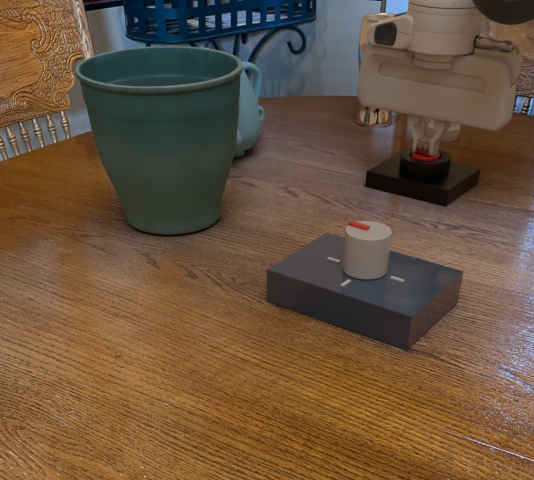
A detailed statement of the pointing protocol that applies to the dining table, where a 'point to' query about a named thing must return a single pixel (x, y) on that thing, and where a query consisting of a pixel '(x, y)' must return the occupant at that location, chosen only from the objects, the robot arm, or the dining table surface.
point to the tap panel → (365, 292)
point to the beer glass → (364, 114)
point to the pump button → (425, 157)
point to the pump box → (423, 178)
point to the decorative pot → (249, 110)
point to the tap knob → (366, 249)
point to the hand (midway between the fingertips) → (424, 153)
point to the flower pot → (165, 131)
